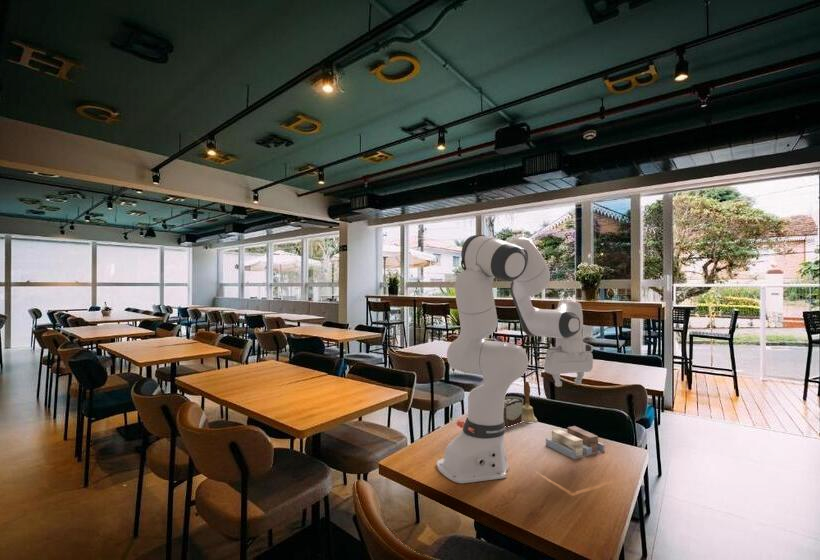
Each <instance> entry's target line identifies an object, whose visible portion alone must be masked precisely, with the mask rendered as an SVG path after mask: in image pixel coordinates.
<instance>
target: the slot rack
mask: <svg viewBox="0 0 820 560" xmlns="http://www.w3.org/2000/svg"><path fill="white" fill-rule="evenodd" d="M545 446H547V447H549V448H551V449H553V450H554V451H557V452H559V453H560V454H563V455H564V456H566V457H568V458H571V459H572V460H577V459H580V458H584V457H588V456H591V455H597V454H599V453H603V452H604V453H605V449H606V448H605V446H606V445H605V444H604V443H602V442H600V441H598V451H596V452H592V447H590V446H587V445H585V444H583V455H580V456H576V451H574V450H572V449H569V448H567V447H565V446H563V445H561V444H559V443H557V442H555V441H553V440H552V438H551V439H550V438H549V437H548V438H545Z"/></svg>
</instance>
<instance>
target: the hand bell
mask: <svg viewBox="0 0 820 560" xmlns="http://www.w3.org/2000/svg"><path fill="white" fill-rule="evenodd" d="M523 393H524V404H523V409H522V421H524V422H535V423H537V422H538V419H537V417H536V416H535V414H534V407H533V406H531V405H530V394H531V386H530V383H529V381H525V382H524V386H523ZM524 422H523V423H524Z"/></svg>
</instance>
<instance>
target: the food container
mask: <svg viewBox="0 0 820 560" xmlns="http://www.w3.org/2000/svg"><path fill="white" fill-rule="evenodd" d="M524 404H525V399H524V398H523V397H520V396H505V400H504V413H503V420H504V421H505V426H506V427H508V426H511V425H514V424H517V423H520V422H522V409H523V406H524ZM522 423H523V422H522ZM520 424H521V423H520ZM517 425H518V424H517ZM514 426H515V425H514ZM506 427H505V428H506ZM511 427H512V426H511Z"/></svg>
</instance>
